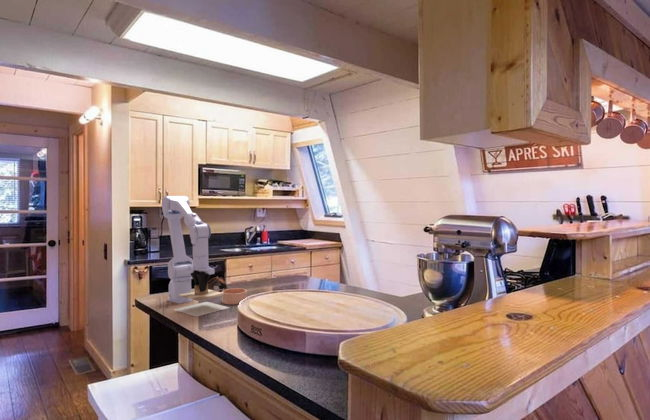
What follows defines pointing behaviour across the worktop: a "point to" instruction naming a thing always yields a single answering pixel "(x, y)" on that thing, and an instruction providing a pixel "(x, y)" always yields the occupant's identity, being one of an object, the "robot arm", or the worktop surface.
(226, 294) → the terracotta bowl
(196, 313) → the grey mat
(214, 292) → the birch lid
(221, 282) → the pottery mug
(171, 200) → the robot arm
